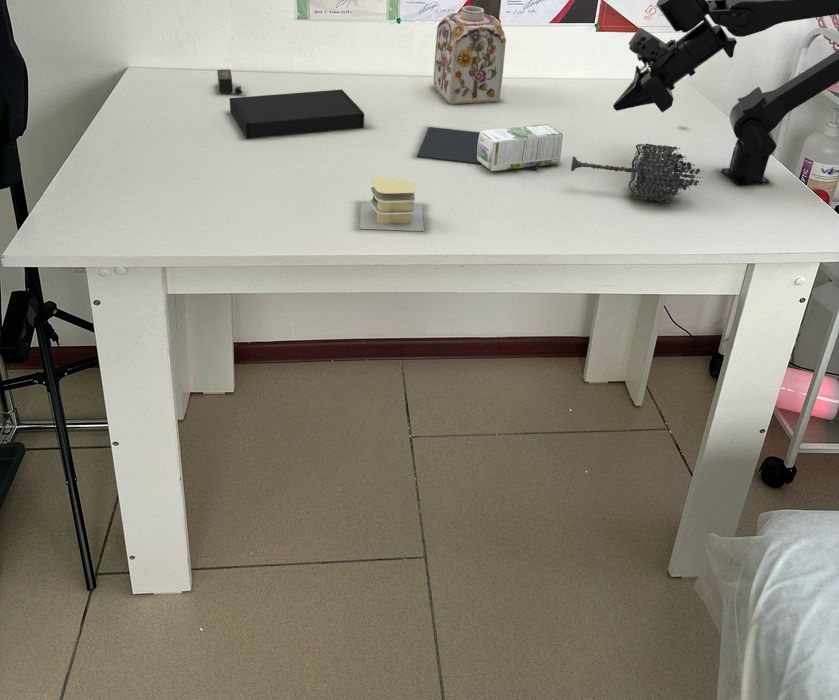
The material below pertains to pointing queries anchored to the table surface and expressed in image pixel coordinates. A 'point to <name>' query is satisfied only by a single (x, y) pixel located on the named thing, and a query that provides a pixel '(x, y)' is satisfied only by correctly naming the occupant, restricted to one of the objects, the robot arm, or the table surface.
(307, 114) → the external hard drive
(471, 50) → the decorative jar
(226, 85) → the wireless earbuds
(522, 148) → the syrup box
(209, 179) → the table surface
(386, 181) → the stacked layers on plate
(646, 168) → the grey chandelier
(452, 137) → the mat
